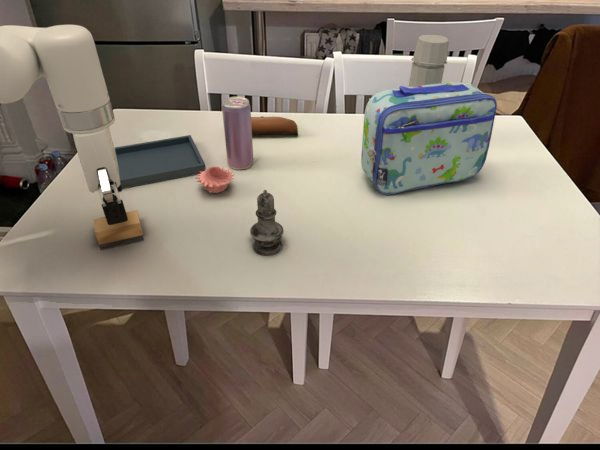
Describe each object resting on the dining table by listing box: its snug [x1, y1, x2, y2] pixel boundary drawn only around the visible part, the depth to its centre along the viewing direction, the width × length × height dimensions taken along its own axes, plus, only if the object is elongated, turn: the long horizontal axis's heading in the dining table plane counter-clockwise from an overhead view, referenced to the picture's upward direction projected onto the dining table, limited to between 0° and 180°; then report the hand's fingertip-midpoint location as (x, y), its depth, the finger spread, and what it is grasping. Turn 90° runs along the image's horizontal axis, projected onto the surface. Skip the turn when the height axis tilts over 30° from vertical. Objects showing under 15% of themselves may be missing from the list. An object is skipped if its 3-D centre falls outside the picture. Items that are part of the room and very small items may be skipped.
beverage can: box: [221, 96, 255, 171], centre depth 102 cm, size 6×6×15 cm
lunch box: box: [360, 82, 498, 196], centre depth 95 cm, size 26×11×21 cm, turn 104°
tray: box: [114, 134, 207, 190], centre depth 105 cm, size 22×16×2 cm
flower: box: [194, 166, 235, 194], centre depth 96 cm, size 8×8×6 cm
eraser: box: [93, 209, 145, 251], centre depth 83 cm, size 8×4×4 cm, turn 112°
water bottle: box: [408, 34, 450, 87], centre depth 109 cm, size 9×8×25 cm
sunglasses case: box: [251, 115, 299, 136], centre depth 119 cm, size 18×7×7 cm
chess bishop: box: [249, 189, 284, 257], centre depth 80 cm, size 6×6×12 cm
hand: (115, 206), depth 80 cm, fingers open, 9 cm apart
